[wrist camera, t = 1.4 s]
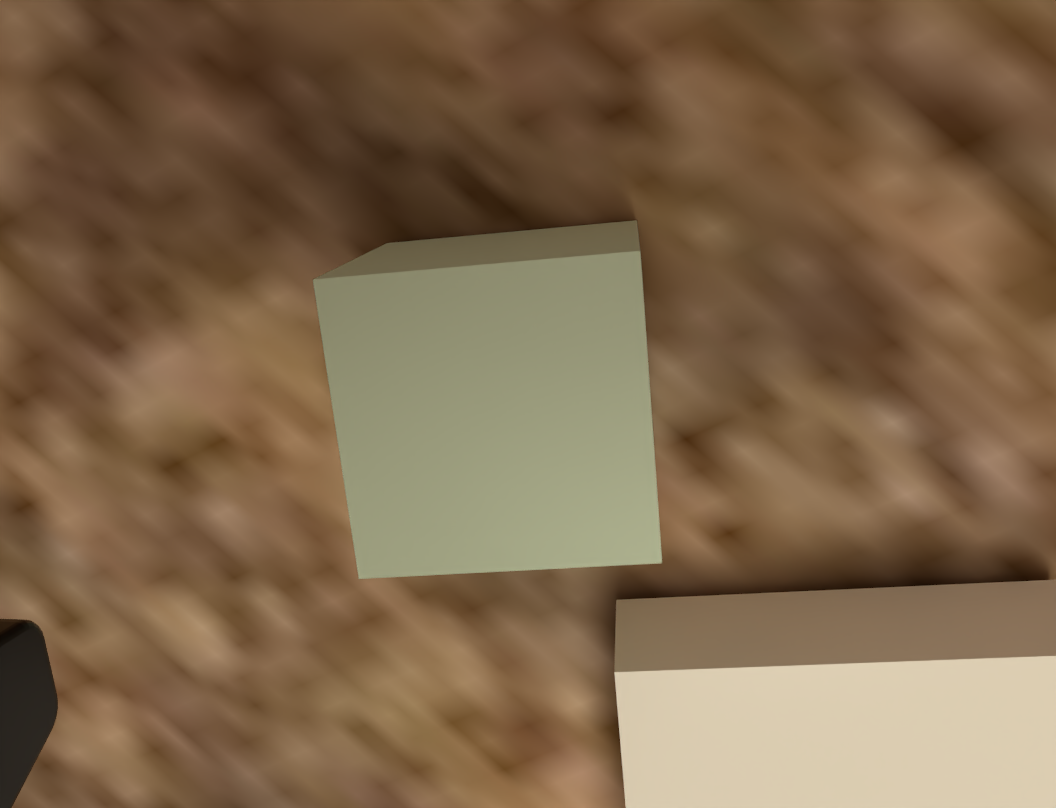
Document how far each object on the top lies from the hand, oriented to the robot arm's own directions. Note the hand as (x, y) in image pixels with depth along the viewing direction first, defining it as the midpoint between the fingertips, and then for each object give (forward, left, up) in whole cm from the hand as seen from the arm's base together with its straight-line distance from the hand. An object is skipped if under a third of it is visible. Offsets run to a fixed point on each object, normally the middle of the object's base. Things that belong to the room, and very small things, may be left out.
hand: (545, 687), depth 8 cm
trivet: (+5, -10, -12) cm, 16 cm away
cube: (-1, 0, -13) cm, 13 cm away
